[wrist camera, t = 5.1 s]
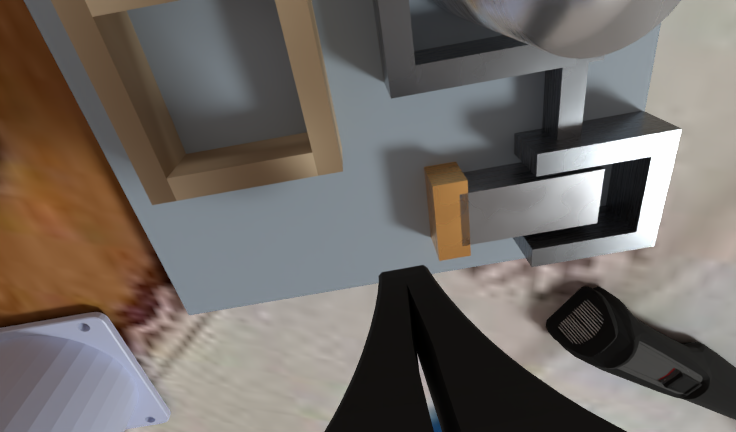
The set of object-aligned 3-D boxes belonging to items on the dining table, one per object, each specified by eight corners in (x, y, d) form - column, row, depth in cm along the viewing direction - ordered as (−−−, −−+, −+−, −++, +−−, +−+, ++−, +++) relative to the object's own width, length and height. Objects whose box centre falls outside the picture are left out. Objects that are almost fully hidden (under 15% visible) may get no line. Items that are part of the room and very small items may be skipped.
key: (431, 237, 17) (439, 261, 16) (423, 167, 16) (432, 186, 14) (574, 212, 17) (595, 234, 16) (582, 139, 15) (606, 155, 14)
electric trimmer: (705, 401, 27) (745, 449, 24) (536, 323, 22) (565, 372, 19) (756, 366, 26) (806, 413, 23) (588, 274, 21) (626, 320, 18)
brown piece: (172, 178, 15) (152, 205, 13) (86, -16, 12) (44, -13, 10) (342, 147, 15) (343, 171, 13) (299, -57, 12) (293, -61, 10)
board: (195, 299, 19) (189, 315, 18) (-18, -125, 11) (-46, -132, 10) (607, 229, 19) (620, 241, 18) (687, -266, 11) (717, -286, 10)
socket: (408, 255, 18) (416, 286, 16) (349, -163, 11) (353, -187, 9) (622, 218, 17) (654, 246, 16) (704, -232, 10) (776, -271, 9)
